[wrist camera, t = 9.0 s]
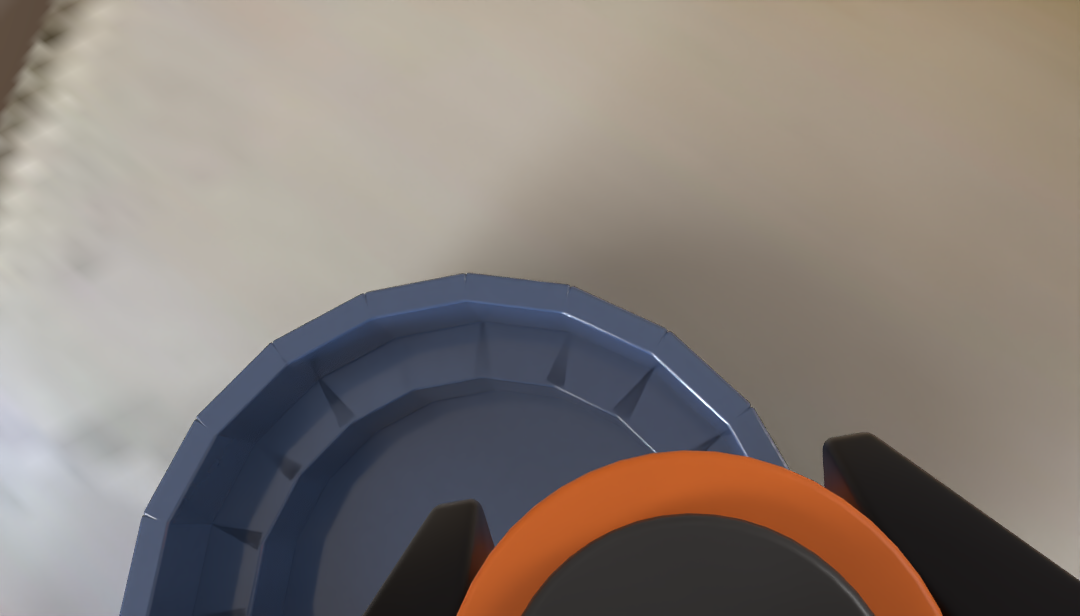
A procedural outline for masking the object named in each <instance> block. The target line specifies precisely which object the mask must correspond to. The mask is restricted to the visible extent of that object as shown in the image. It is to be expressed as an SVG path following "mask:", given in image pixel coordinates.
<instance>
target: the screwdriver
mask: <svg viewBox="0 0 1080 616" xmlns="http://www.w3.org/2000/svg"><path fill="white" fill-rule="evenodd" d="M457 616H943V615H942V613H941V610H940V608H939V607H938V605H937V603H936V602H935V600H934V598H933V597H932V595H931V593H930V592H929V590H928V588H927V587H926V585H925V583H924V582H923V580H922V578H921V577H920V575H919V574H918V573H917V571H916V570H915V569H914V568H913V566H912V565H911V564H910V562H909V561H908V560H907V559H906V557H905V556H904V555H903V553H902V552H901V551H900V550H899V548H898V547H897V546H896V545H895V544H894V543H893V542H892V541H891V540H890V539H889V538H888V537H887V536H886V535H885V534H884V533H883V532H882V531H881V530H880V529H879V528H878V527H877V526H876V525H875V524H874V523H873V522H872V521H871V520H870V519H868V518H867V517H866V516H865V515H863V514H862V513H861V512H859V511H858V510H857V509H856V508H854V507H853V506H852V505H851V504H849V503H848V502H847V501H845V500H844V499H843V498H841V497H839V496H838V495H836V494H834V493H833V492H831V491H829V490H828V489H826V488H824V487H823V486H821V485H819V484H818V483H816V482H815V481H813V480H810V479H808V478H806V477H804V476H801V475H799V474H797V473H795V472H792V471H790V470H788V469H786V468H783V467H781V466H777V465H774V464H771V463H768V462H764V461H761V460H758V459H754V458H751V457H746V456H740V455H734V454H728V453H722V452H716V451H688V450H682V451H671V452H660V453H650V454H646V455H642V456H637V457H633V458H629V459H624V460H620V461H617V462H614V463H612V464H609V465H606V466H604V467H601V468H598V469H596V470H593V471H590V472H588V473H586V474H584V475H582V476H581V477H579V478H577V479H575V480H573V481H571V482H569V483H567V484H566V485H564V486H562V487H560V488H559V489H557V490H556V491H555V492H553V493H552V494H550V495H549V496H548V497H546V498H545V499H543V500H542V501H541V502H539V503H538V504H536V505H535V506H534V507H533V508H532V509H531V510H529V511H528V512H527V513H526V514H525V515H524V516H523V517H522V518H521V519H520V520H519V521H518V522H517V523H516V524H515V525H514V526H512V527H511V528H510V529H509V531H508V532H507V533H506V534H505V536H504V537H503V538H502V539H501V540H500V542H499V543H498V544H497V545H496V547H495V548H494V549H493V550H492V551H491V553H490V554H489V555H488V557H487V559H486V560H485V562H484V563H483V565H482V567H481V568H480V570H479V571H478V573H477V575H476V576H475V578H474V579H473V581H472V583H471V585H470V587H469V589H468V591H467V593H466V596H465V598H464V600H463V602H462V604H461V606H460V609H459V611H458V613H457Z"/></svg>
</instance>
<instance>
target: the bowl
mask: <svg viewBox="0 0 1080 616" xmlns="http://www.w3.org/2000/svg"><path fill="white" fill-rule="evenodd" d="M750 406H751V405H750V403H749V402H748V401H747V400H746V399H745V398H744V397H743V396H742V395H741V394H740V393H738V392H737V391H736V390H735V389H734V388H733V387H732V386H731V385H730V384H729V383H727V382H726V381H725V380H724V379H723V378H722V377H721V376H720V375H719V374H718V373H716V372H715V371H714V370H713V369H712V368H711V367H710V366H709V365H708V364H706V363H705V362H704V361H703V360H702V359H701V358H700V357H699V356H698V355H697V354H695V353H694V352H693V351H692V350H691V349H690V348H689V347H688V346H687V345H686V344H684V343H683V342H682V341H681V340H680V339H679V338H678V337H677V336H676V335H675V334H673V333H672V332H670V331H668V332H667V329H666V328H665V327H662V326H660V325H658V324H656V323H654V322H651V321H649V320H647V319H645V318H643V317H640V316H638V315H636V314H634V313H632V312H629V311H627V310H625V309H623V308H621V307H619V306H616V305H614V304H612V303H610V302H608V301H605V300H603V299H601V298H599V297H597V296H594V295H592V294H590V293H588V292H586V291H583V290H581V289H579V288H577V287H575V286H571V287H570V285H568V284H561V283H553V282H544V281H536V280H527V279H519V278H510V277H502V276H493V275H485V274H476V273H467V274H464V273H462V274H456V275H451V276H446V277H441V278H436V279H431V280H425V281H420V282H415V283H410V284H405V285H400V286H394V287H389V288H384V289H379V290H374V291H369V292H367V293H365V294H364V293H363V294H360V295H358V296H356V297H354V298H352V299H351V300H349V301H347V302H345V303H343V304H341V305H339V306H338V307H336V308H334V309H332V310H330V311H328V312H326V313H325V314H323V315H321V316H319V317H317V318H315V319H313V320H311V321H310V322H308V323H306V324H304V325H302V326H300V327H298V328H297V329H295V330H293V331H291V332H289V333H287V334H285V335H284V336H282V337H280V338H278V339H276V340H274V341H273V343H270V344H269V345H268V346H267V347H266V348H265V349H264V350H263V351H262V352H261V353H260V354H259V355H258V356H257V357H256V358H255V359H254V360H253V361H252V362H251V363H250V364H249V365H248V366H247V367H246V368H245V369H244V370H243V371H242V372H241V373H240V374H239V375H238V376H237V377H236V378H235V379H234V380H233V381H232V382H231V383H230V384H229V385H228V386H227V387H226V388H225V389H224V390H223V391H222V392H221V393H220V394H219V395H218V396H217V397H216V398H215V399H214V400H213V401H212V402H211V403H210V404H209V405H208V406H207V407H206V408H205V409H204V410H203V411H202V412H201V413H200V414H199V415H198V416H197V419H196V420H195V421H194V422H193V424H192V426H191V427H190V429H189V431H188V433H187V435H186V437H185V438H184V440H183V442H182V444H181V446H180V447H179V449H178V451H177V453H176V455H175V457H174V458H173V460H172V462H171V464H170V466H169V467H168V469H167V471H166V473H165V475H164V477H163V478H162V480H161V482H160V484H159V486H158V487H157V489H156V491H155V493H154V495H153V497H152V498H151V500H150V502H149V504H148V506H147V507H146V509H145V511H144V514H145V515H143V516H142V519H141V523H140V527H139V532H138V536H137V541H136V545H135V549H134V554H133V558H132V563H131V567H130V571H129V576H128V580H127V585H126V589H125V593H124V598H123V602H122V607H121V611H120V615H119V616H362V615H363V614H364V612H365V611H366V609H367V608H368V606H369V605H370V603H371V602H372V600H373V599H374V597H375V596H376V594H377V593H378V591H379V590H380V588H381V587H382V585H383V583H384V582H385V580H386V579H387V577H388V576H389V574H390V573H391V571H392V570H393V568H394V567H395V565H396V564H397V562H398V561H399V559H400V558H401V556H402V555H403V553H404V552H405V550H406V548H407V547H408V545H409V544H410V542H411V541H412V539H413V538H414V536H415V535H416V533H417V532H418V530H419V529H420V527H421V526H422V524H423V523H424V521H425V520H426V518H427V517H428V515H429V513H430V512H431V511H432V509H433V508H435V507H436V506H437V505H440V504H443V503H449V502H455V501H461V500H467V499H475V500H477V501H478V502H479V503H480V504H481V506H482V508H483V511H484V514H485V517H486V521H487V524H488V527H489V530H490V534H491V537H492V540H493V543H494V547H496V545H497V544H498V543H499V542H500V540H501V539H502V538H503V537H504V536H505V534H506V533H507V532H508V531H509V529H510V528H511V527H512V526H514V525H515V524H516V523H517V522H518V521H519V520H520V519H521V518H522V517H523V516H524V515H525V514H526V513H527V512H528V511H529V510H531V509H532V508H533V507H534V506H535V505H536V504H538V503H539V502H541V501H542V500H543V499H545V498H546V497H548V496H549V495H550V494H552V493H553V492H555V491H556V490H557V489H559V488H560V487H562V486H564V485H566V484H567V483H569V482H571V481H573V480H575V479H577V478H579V477H581V476H582V475H584V474H586V473H588V472H590V471H593V470H596V469H598V468H601V467H604V466H606V465H609V464H612V463H614V462H617V461H620V460H624V459H629V458H633V457H637V456H642V455H646V454H650V453H660V452H671V451H682V450H688V451H716V452H722V453H728V454H734V455H740V456H746V457H751V458H754V459H758V460H761V461H764V462H768V463H771V464H774V465H777V466H781V467H783V468H786V469H788V470H790V469H789V467H788V465H787V463H786V462H785V460H784V458H783V457H782V455H781V453H780V451H779V450H778V448H777V446H776V445H775V443H774V441H773V439H772V438H771V436H770V434H769V433H768V431H767V429H766V427H765V426H764V424H763V422H762V421H761V419H760V417H759V416H758V414H757V412H756V410H755V409H754V408H753V407H750ZM790 471H791V470H790Z"/></svg>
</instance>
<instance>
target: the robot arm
mask: <svg viewBox="0 0 1080 616" xmlns="http://www.w3.org/2000/svg"><path fill="white" fill-rule="evenodd" d="M823 468H824V485H825V488H826V489H828V490H829V491H831V492H833V493H834V494H836V495H838V496H839V497H841V498H843V499H844V500H845V501H847V502H848V503H849V504H851V505H852V506H853V507H854V508H856V509H857V510H858V511H859V512H861V513H862V514H863V515H865V516H866V517H867V518H868V519H870V520H871V521H872V522H873V523H874V524H875V525H876V526H877V527H878V528H879V529H880V530H881V531H882V532H883V533H884V534H885V535H886V536H887V537H888V538H889V539H890V540H891V541H892V542H893V543H894V544H895V545H896V546H897V547H898V548H899V550H900V551H901V552H902V553H903V555H904V556H905V557H906V559H907V560H908V561H909V562H910V564H911V565H912V566H913V568H914V569H915V570H916V571H917V573H918V574H919V575H920V577H921V578H922V580H923V582H924V583H925V585H926V587H927V588H928V590H929V592H930V593H931V595H932V597H933V598H934V600H935V602H936V603H937V605H938V607H939V608H940V610H941V613H942V615H943V616H1080V581H1079V580H1078V579H1076V578H1075V577H1074V576H1072V575H1071V574H1069V573H1068V572H1067V571H1065V570H1064V569H1062V568H1061V567H1060V566H1058V565H1057V564H1055V563H1054V562H1053V561H1051V560H1050V559H1048V558H1047V557H1045V556H1044V555H1043V554H1041V553H1040V552H1038V551H1037V550H1036V549H1034V548H1033V547H1031V546H1030V545H1029V544H1027V543H1026V542H1024V541H1023V540H1021V539H1020V538H1019V537H1017V536H1016V535H1014V534H1013V533H1012V532H1010V531H1009V530H1007V529H1006V528H1005V527H1003V526H1002V525H1000V524H999V523H998V522H996V521H995V520H993V519H992V518H990V517H989V516H988V515H986V514H985V513H983V512H982V511H981V510H979V509H978V508H976V507H975V506H974V505H972V504H971V503H969V502H968V501H966V500H965V499H964V498H962V497H961V496H959V495H958V494H957V493H955V492H954V491H952V490H951V489H950V488H948V487H947V486H945V485H944V484H943V483H941V482H940V481H938V480H937V479H935V478H934V477H933V476H931V475H930V474H928V473H927V472H926V471H924V470H923V469H921V468H920V467H919V466H917V465H916V464H914V463H913V462H911V461H910V460H909V459H907V458H906V457H904V456H903V455H902V454H900V453H899V452H897V451H896V450H895V449H893V448H892V447H890V446H889V445H888V444H886V443H885V442H883V441H882V440H880V439H879V438H878V437H876V436H875V435H873V434H870V433H865V432H862V433H856V434H850V435H844V436H838V437H832V438H829V439H828V440H827V441H826V442H825V443H824V445H823ZM494 548H495V547H494V543H493V540H492V537H491V534H490V530H489V527H488V524H487V521H486V517H485V514H484V511H483V508H482V506H481V504H480V503H479V502H478V501H477V500H475V499H467V500H461V501H455V502H449V503H443V504H440V505H437V506H436V507H435V508H433V509H432V511H431V512H430V513H429V515H428V517H427V518H426V520H425V521H424V523H423V524H422V526H421V527H420V529H419V530H418V532H417V533H416V535H415V536H414V538H413V539H412V541H411V542H410V544H409V545H408V547H407V548H406V550H405V552H404V553H403V555H402V556H401V558H400V559H399V561H398V562H397V564H396V565H395V567H394V568H393V570H392V571H391V573H390V574H389V576H388V577H387V579H386V580H385V582H384V583H383V585H382V587H381V588H380V590H379V591H378V593H377V594H376V596H375V597H374V599H373V600H372V602H371V603H370V605H369V606H368V608H367V609H366V611H365V612H364V614H363V615H362V616H457V613H458V611H459V609H460V606H461V604H462V602H463V600H464V598H465V596H466V593H467V591H468V589H469V587H470V585H471V583H472V581H473V579H474V578H475V576H476V575H477V573H478V571H479V570H480V568H481V567H482V565H483V563H484V562H485V560H486V559H487V557H488V555H489V554H490V553H491V551H492V550H493V549H494Z"/></svg>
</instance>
